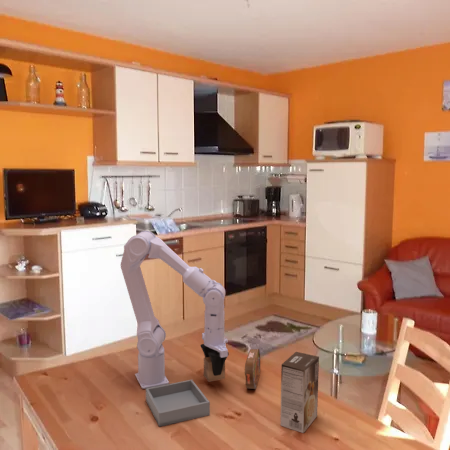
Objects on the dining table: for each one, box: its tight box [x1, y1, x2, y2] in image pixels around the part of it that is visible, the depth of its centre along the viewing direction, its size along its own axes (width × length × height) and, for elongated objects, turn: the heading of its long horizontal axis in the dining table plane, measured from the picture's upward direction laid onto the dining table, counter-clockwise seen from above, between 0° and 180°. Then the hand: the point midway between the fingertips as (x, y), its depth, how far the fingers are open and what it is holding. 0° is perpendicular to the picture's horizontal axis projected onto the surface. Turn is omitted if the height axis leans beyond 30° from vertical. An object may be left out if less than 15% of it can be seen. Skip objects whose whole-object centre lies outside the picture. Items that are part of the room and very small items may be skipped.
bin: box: [145, 379, 211, 428], centre depth 117 cm, size 13×13×4 cm
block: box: [203, 357, 226, 383], centre depth 130 cm, size 4×5×6 cm
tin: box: [244, 348, 261, 390], centre depth 131 cm, size 15×3×8 cm, turn 168°
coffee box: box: [280, 351, 320, 434], centre depth 111 cm, size 9×6×16 cm
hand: (214, 371), depth 130 cm, fingers closed on block, 4 cm apart
